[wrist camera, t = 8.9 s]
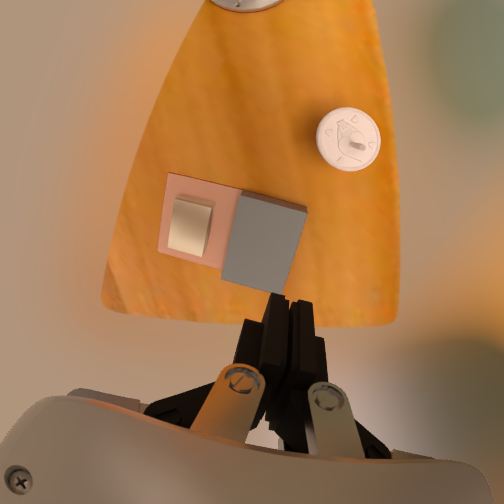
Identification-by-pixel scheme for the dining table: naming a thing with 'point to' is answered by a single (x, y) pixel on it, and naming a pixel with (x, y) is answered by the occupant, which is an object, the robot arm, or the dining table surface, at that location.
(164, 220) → the mat
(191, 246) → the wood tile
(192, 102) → the dining table surface
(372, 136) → the smoothie
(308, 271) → the dining table surface
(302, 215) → the plate
